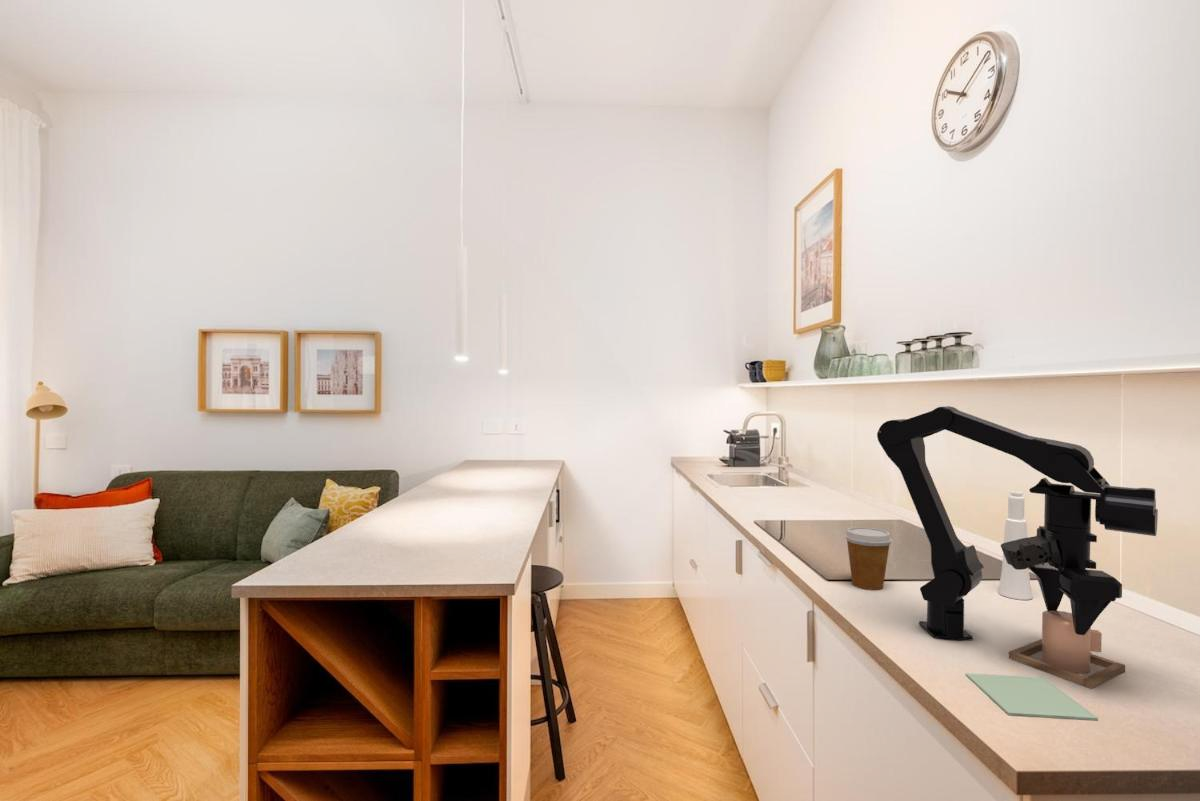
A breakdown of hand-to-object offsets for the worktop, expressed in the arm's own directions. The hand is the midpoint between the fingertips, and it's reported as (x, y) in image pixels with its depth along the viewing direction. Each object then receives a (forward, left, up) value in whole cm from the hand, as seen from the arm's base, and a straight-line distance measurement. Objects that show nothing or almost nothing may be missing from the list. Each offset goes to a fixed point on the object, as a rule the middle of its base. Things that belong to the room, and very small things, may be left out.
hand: (1065, 622), depth 92 cm
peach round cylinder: (0, 0, -7) cm, 7 cm away
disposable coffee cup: (-36, -18, -7) cm, 41 cm away
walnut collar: (0, 0, -7) cm, 7 cm away
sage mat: (+11, -12, -7) cm, 18 cm away
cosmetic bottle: (-33, +11, -7) cm, 35 cm away
